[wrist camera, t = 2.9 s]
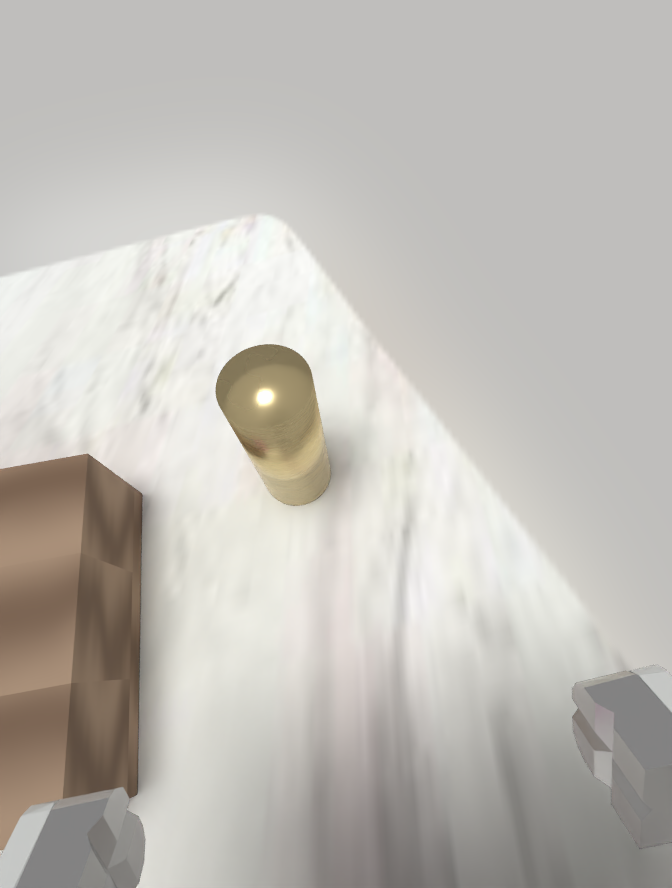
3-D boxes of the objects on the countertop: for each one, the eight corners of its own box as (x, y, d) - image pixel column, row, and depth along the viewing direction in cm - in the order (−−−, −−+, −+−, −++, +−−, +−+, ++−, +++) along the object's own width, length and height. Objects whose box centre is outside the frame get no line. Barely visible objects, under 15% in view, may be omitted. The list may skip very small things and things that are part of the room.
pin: (335, 498, 27) (319, 417, 18) (268, 511, 27) (218, 435, 18) (325, 438, 29) (305, 337, 20) (261, 450, 29) (213, 353, 20)
